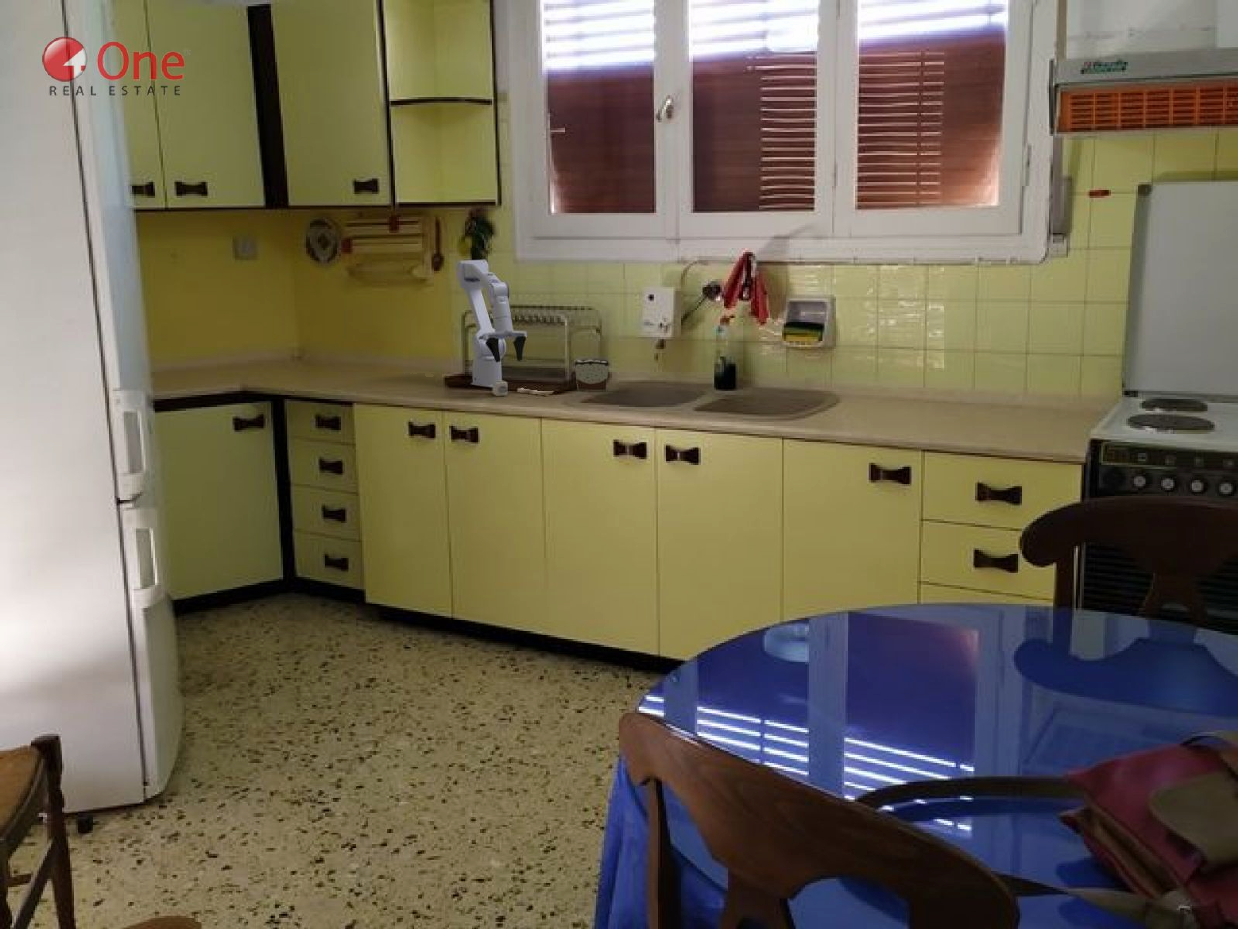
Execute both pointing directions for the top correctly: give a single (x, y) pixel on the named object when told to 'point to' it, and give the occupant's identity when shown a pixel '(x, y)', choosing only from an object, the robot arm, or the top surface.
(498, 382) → the plug
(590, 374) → the food container
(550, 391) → the trivet
